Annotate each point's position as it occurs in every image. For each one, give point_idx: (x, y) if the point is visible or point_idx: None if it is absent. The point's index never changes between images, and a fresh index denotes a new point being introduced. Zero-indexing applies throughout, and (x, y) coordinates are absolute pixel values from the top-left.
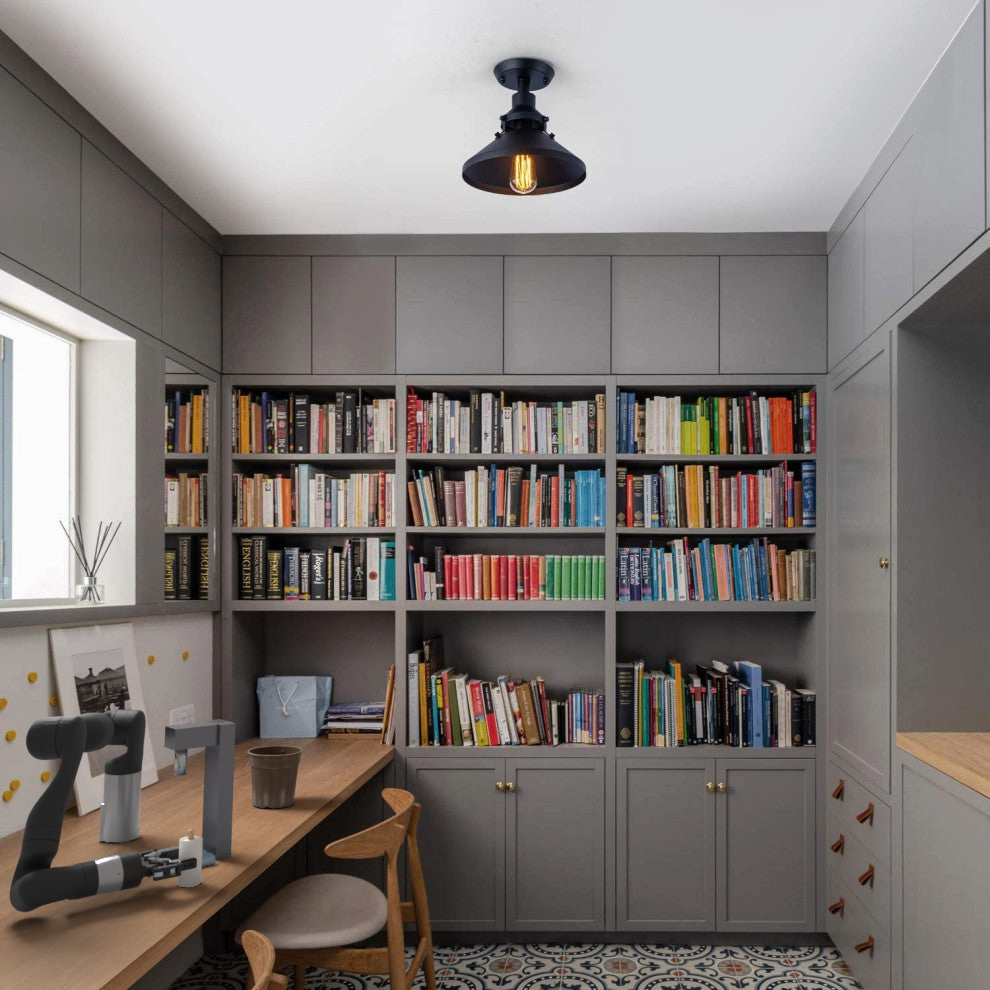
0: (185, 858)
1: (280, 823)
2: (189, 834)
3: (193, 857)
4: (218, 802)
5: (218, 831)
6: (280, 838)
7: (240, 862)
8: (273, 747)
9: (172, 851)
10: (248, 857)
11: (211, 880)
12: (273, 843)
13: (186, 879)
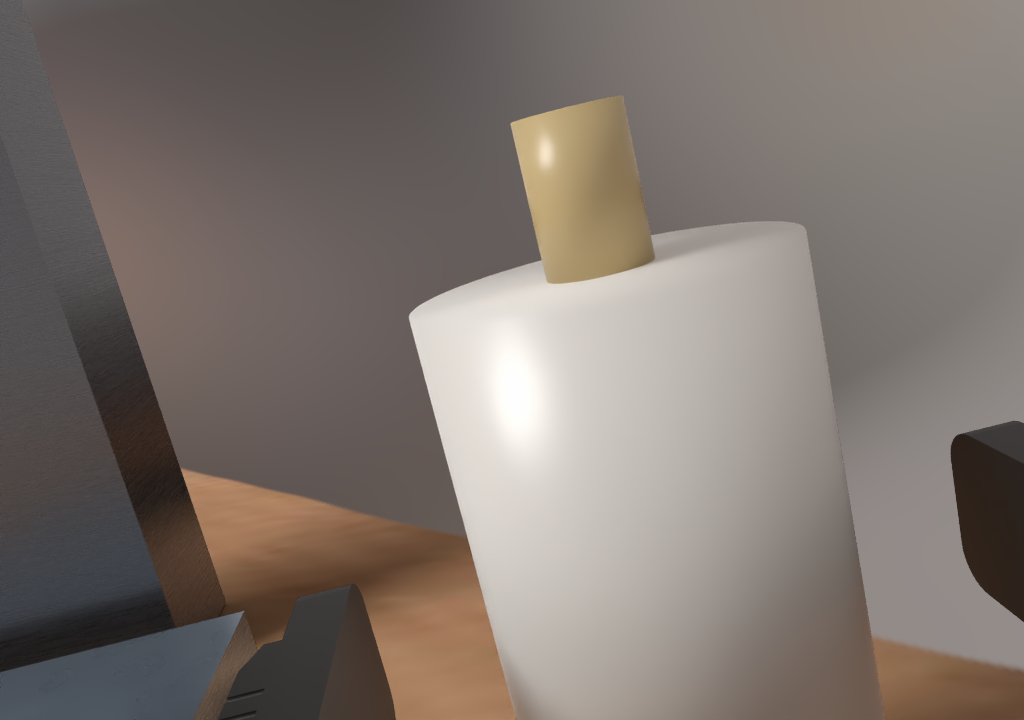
0: (833, 552)
1: None
2: (620, 171)
3: (978, 435)
4: (23, 185)
5: (119, 441)
6: (194, 475)
7: (384, 566)
8: None
9: (339, 678)
10: (330, 542)
11: None
12: (229, 486)
13: None
